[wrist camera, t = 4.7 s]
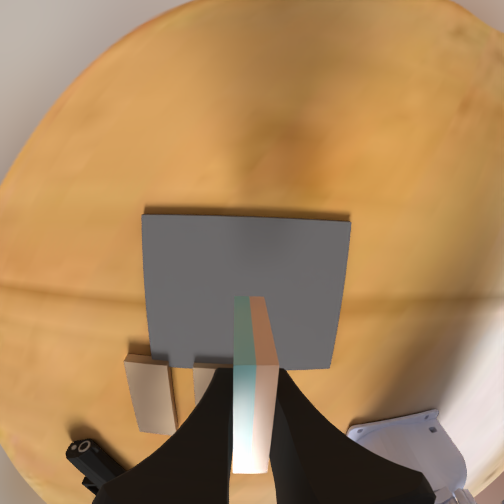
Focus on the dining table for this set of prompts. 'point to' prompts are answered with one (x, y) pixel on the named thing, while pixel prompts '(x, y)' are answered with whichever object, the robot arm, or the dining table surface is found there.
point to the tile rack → (161, 391)
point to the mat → (242, 284)
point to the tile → (253, 385)
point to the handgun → (93, 464)
